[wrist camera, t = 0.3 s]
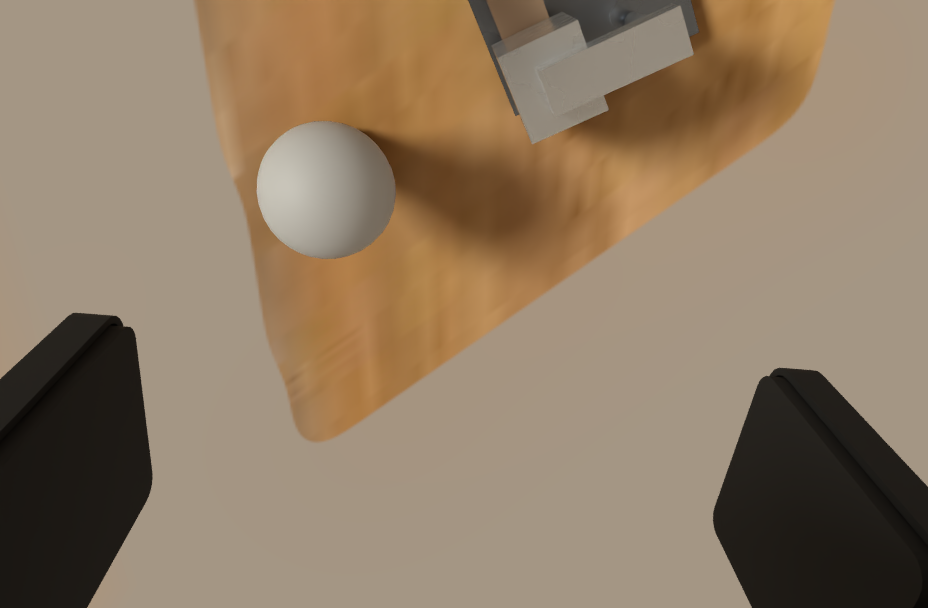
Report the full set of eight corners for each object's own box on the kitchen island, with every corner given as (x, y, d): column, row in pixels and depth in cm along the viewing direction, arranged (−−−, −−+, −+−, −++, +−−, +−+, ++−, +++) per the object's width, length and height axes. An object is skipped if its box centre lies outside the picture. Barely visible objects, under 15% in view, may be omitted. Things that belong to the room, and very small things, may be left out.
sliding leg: (630, -26, 32) (673, -21, 26) (654, 55, 34) (700, 77, 28) (489, 41, 34) (499, 62, 27) (519, 116, 35) (535, 151, 29)
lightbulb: (296, 194, 39) (244, 276, 29) (292, 84, 36) (234, 133, 26) (402, 202, 39) (387, 286, 29) (407, 94, 36) (392, 146, 27)
